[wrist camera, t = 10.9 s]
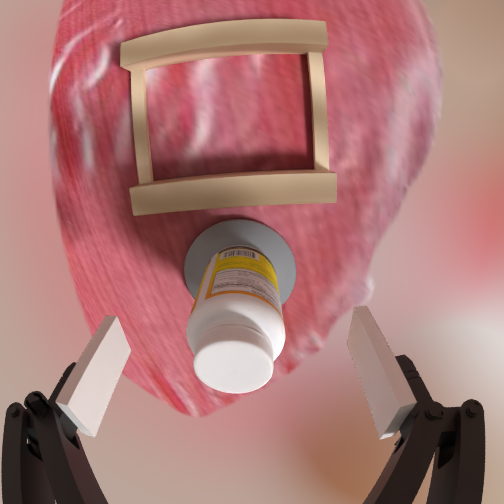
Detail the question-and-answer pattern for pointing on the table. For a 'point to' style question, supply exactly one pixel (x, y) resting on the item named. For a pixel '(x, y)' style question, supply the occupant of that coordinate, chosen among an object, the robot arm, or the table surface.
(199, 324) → the supplement bottle
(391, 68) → the table surface
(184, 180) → the open wooden frame
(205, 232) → the coaster
